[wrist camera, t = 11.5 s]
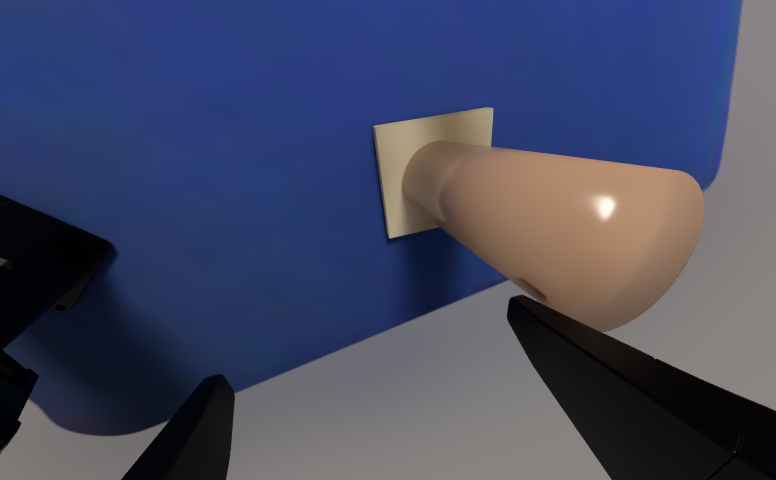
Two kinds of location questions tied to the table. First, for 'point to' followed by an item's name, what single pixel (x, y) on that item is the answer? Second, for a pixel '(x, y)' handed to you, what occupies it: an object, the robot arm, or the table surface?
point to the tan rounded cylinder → (563, 224)
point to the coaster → (402, 144)
